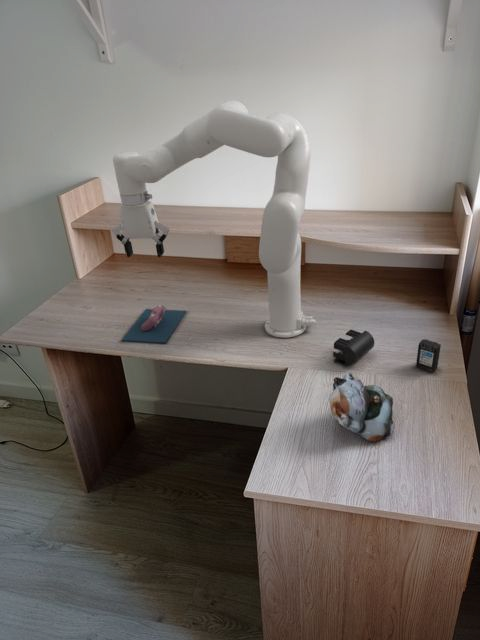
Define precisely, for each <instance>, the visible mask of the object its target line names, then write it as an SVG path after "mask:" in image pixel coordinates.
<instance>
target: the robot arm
mask: <svg viewBox="0 0 480 640" xmlns="http://www.w3.org/2000/svg"><path fill="white" fill-rule="evenodd" d="M224 146H227V147H229V148H233V149H235V150H238V151H242V152H246V153H248V154H252V155H256V156H259V157H263V158H275V157H277V161H276V162H277V163H276V167H275V177H274V185H273V190H272V191H273V192H272V195H271V197H270V199H269V200H268V202H267V203H266V205H265V208H264V210H263V213H262V219H261V227H260V237H259V246H258V260H259V262H260V264H261V266H262V267H263V269H264V270H266V274H267V275H266V276H267V293H268V294H267V296H268V316H269V317H268V319H267V320H266V321H265V323H264V330H265V332H266V333H267V334H268V335H270V336H272V337H276V338H284V339H285V338H286V339H287V338H293V337H297V336H300V335H302V334H303V333H304V332H305V331H306V329H307V326H309V327H316V322H317V321H316V320H317V319H313V315H308V316H307V315H305V314H304V311H303V310H302V306H301V305H302V304H301V303H302V301H301V300H302V298H301V294H302V293H301V292H302V291H301V261H302V239H301V235H300V233H299V228H300V224H301V223H300V222H301V220H302V219H303V216H304V213H305V207H306V196H307V189H308V183H309V182H308V181H309V172H310V165H311V144H310V140H309V136H308V135H307V131H306V129H305V128H304V127H303V126H302V124H301V123H300V121H298V120H297V119H296V118H295V117H294V116H292V115H290V114H288V113H285V112H275V113H272V114H269V115H268V116H266V117H262V116H258V115H254V114H251V113H250V112H249V111H248V108H247V107H246V105H244V104H243V103H242V102H241V101H239V100H233V99H232V100H228V101H224V102H223V103H221V104H219V105H217V106H215V107H214V108H213V109H212V110H210V111H209V112H207V113H205V114H204V115H202V116H201V117H199V118H197V119H195V120H193V121H192V122H190V123H188V124H187V125H185V126H184V128H183V129H182V131H180V133H178V134H177V135H176V136H174V137H172V138H171V139H169V140H167V141H165V142H164V143H162V144H161V145H158V146H156V147H155V148H152V149H151V150H149V151H147V152H146V153H143V154H139V153H138V151H137V152H136V151H123V152H118V153H116V154H114V155H113V157H112V164H113V168H114V172H115V173H114V174H115V178H116V183H117V188H118V192H119V198H120V202H121V203H120V205H119V219H120V224H118V225H116V226H115V227H113V228H112V229H111V231H112V233H113V234H114V236H115V237H116V239H117V240H118V241H119V242H120V243H121V245H123V247H124V248H123V249H124V252H125V254H126V257H127V258H130V257H131V256H133V255H134V250H133V244H132V241H131V240H130V239H132V240H133V239H134V240H135V239H136V240H142V239H145V240H146V239H148V240H149V239H152V240H153V241H154V243H156V244H155V250H156V255H157V257H158V258H161V257H162V256H163V255H164V253H165V248H164V241H165V239H166V238H167V237H168V235H169V232H170V228H169V227H168V226H166V225H164V224H162V223H160V222H159V220H158V215H157V213H156V210H155V207H154V203H153V202H152V201H151V200H152V199H153V194H152V193H149V191H148V190H147V184H155V183H157V182H159V181H161V180H162V179H164V178H165V177H167V176H168V175H170V174H172V173H173V172H174V171H177V170H178V169H179V168H181V167H183V166H185V165H187V164H188V163H190V162H191V161H194V160H196V159H202V158H205V157H206V156H208V155H210V154H211V153H213V152H215V151H216V150H218V149H220V148H222V147H224ZM120 230H121V231H122V233H121V231H120ZM160 231H161V232H162V234H160Z"/></svg>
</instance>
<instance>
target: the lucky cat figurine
mask: <svg viewBox="0 0 480 640" xmlns="http://www.w3.org/2000/svg"><path fill="white" fill-rule="evenodd" d="M332 388H333V389H332V392H331V393H330V396H329V398H328V399H329V407H330V408H329V409H330V412H331V414H332V416H333V418H334V419H336V421H338V423H339V425H341V426H342V427H344V428H345V429H346V430H348V431H350V432H352V433H354V434H357V435H359V436H361V437H362V438H364V439H365V440H367V441H369V442H372V443H376V442H379V441H381V440H385V439H386V438H388V437H392V436H393V435H394V431H395V422H394V421H393V406H394V398H393V397H392V396H391V395H390V394H388V393H385V391H384V389H383V388H382V387H380V386H378V385H375V384H368V385H367V384H366V385H364V382H362V380H361V379H360V378H357V377H354V375H353V374H352V373H351V372H345V373H344V376H343V377H342V378H341V377H337V376H336V377H334V378H333V383H332Z"/></svg>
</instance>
